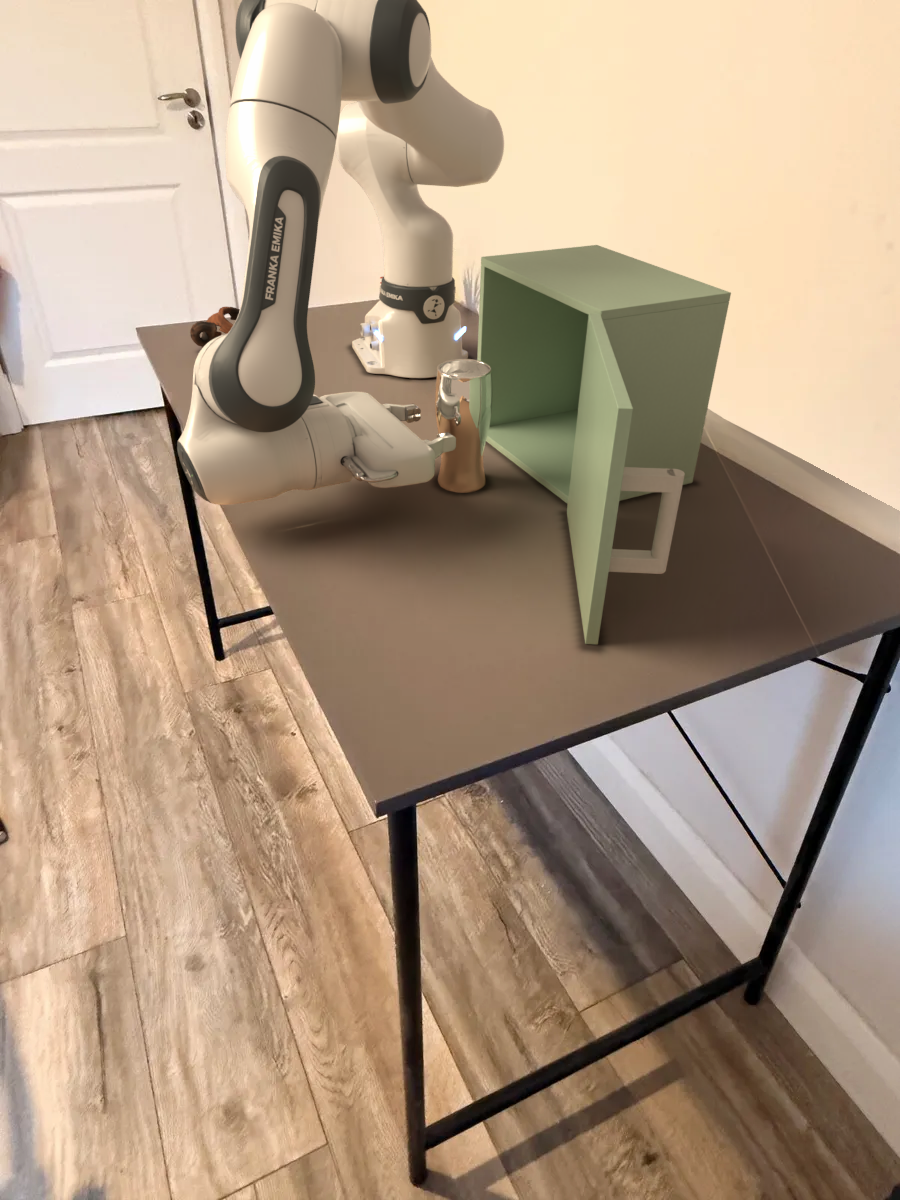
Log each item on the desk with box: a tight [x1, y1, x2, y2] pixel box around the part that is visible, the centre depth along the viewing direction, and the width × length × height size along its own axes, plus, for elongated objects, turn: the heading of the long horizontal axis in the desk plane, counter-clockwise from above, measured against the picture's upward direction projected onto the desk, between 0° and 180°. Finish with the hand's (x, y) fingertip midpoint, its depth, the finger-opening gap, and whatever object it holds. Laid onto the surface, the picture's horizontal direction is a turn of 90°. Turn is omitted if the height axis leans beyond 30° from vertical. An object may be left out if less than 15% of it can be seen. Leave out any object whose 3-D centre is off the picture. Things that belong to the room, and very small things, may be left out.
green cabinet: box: [476, 244, 732, 505], centre depth 108 cm, size 18×26×24 cm
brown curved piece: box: [189, 306, 240, 349], centre depth 146 cm, size 12×10×8 cm
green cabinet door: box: [566, 313, 685, 645], centre depth 84 cm, size 7×26×24 cm, turn 177°
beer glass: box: [434, 358, 493, 494], centre depth 104 cm, size 7×7×15 cm
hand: (435, 425), depth 102 cm, fingers open, 8 cm apart
